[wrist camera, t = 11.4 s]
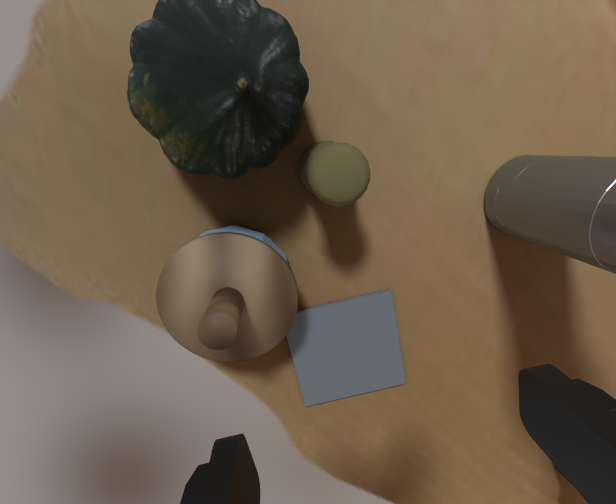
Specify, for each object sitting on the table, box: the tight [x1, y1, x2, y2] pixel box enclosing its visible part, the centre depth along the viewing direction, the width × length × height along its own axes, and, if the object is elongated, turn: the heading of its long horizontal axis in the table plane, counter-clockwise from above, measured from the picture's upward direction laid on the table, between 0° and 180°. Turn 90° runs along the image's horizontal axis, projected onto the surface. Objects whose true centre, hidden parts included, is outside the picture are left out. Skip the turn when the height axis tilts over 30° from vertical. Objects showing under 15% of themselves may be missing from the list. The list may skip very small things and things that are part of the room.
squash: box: [127, 0, 309, 179], centre depth 28 cm, size 14×15×15 cm
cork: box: [299, 141, 370, 206], centre depth 32 cm, size 6×6×11 cm
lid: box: [156, 232, 298, 362], centre depth 31 cm, size 14×14×7 cm
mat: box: [286, 289, 406, 407], centre depth 43 cm, size 14×14×1 cm
